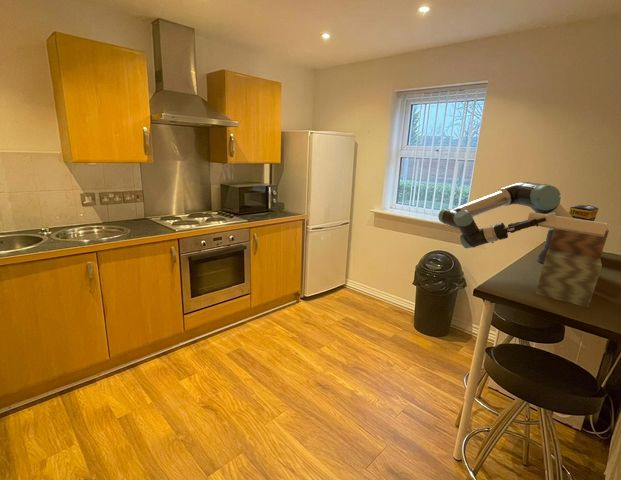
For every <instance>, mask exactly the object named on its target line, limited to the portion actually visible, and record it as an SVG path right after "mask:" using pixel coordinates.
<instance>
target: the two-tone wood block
mask: <svg viewBox="0 0 621 480" xmlns="http://www.w3.org/2000/svg"><path fill="white" fill-rule="evenodd" d="M609 232H610V230H609V228H608V227H607V228H606V231H605V235H604V237H601V236H595V235H589V234H583V233H577V232H571V231H565V230H559V229H554V230H553V233H552V237H551V241H550V244H549V248H548V251H547V254H546V257H545V261H544V264H543V266H542V269H541V271H540V272H541V273H540V277H539V280H538V284H537V288H536V291H535V295H537V296H543V297H546V298H550V299H554V300H558V301H560V302H561V301H562V302H566V303H569V304H573V305H577V306H580V307H584V308H589V307H590V304H591V302H592V299H593V298H592V297H593V294H594V291H595V290H596V286H597V283H598V279H599V277H600V273H601V270H602V267H603V264H602V261H601V257H602V253H603V252H604V251H603V250H604V248H605V244H606V241H607V239H608V235H609Z"/></svg>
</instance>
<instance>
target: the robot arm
mask: <svg viewBox="0 0 621 480" xmlns="http://www.w3.org/2000/svg"><path fill="white" fill-rule="evenodd" d="M511 205H519V206H520V205H521V206H523V207H524V206H525V207H529V208H530V209H531V210H532V211H533V212H534V213H541V214H548V215H546V216H543V217H539V218H536V219H534V220H530V221H528V219H526V220H523V221H516V222H514V223H513V222H511V223H509V224H507V226H506V225H505V224H504V223H503V222H499V223H495V224H494V225H489V226H484V227H482V228H479V227H478V225H477V223H476V221H475V219H474V217H477V216H479V215H482V214H484V213H486V212H489V211H492V210H495V209H498V208H500V207H502V206H504V207H508V206H511ZM555 216H561V217H568V218H573V217H572V216H571V215H570V214H569V211H567V210H566V208H564V207H563V205H562V204H561V192H560V190H559V188H557V187H556V186H554V185H551V184H547V183H535V182H529V181H521V182H516V183H513V184H510V185H507V186H504V187H502V188H499V189H498V190H497V191H496V192H494V193H490V194H489V195H485V196H483V197H481V198H478V199H475V200H472V201H470V202H467V203H464V204H462V205H459V206H457V207H455V208H454V207H453V208H451V209H450V208H443V209H441V210H440V211H439V213H438V220H439V222H440V223H442V224H443V225H447V226H449V227H452V228H454V229H457V230H459V231H460V232H461V235H460V237H459V239H460V243H461V246H462V247H463V248H464V249H471V248H476V247H479V246H482V245H483V246H484V245H485V244H490V243H491V244H494V242H498V240H499V241H502V240H505V239H508V238H509V233H510V234H513V233H515V232H519V231H521V230H523V229H524V230H525V229H528V228H531V227H539V226H538V224H542V223H546V222H549V221H553V220H556V217H555ZM535 225H536V226H535ZM553 230H554V229H553V228H548V230H547V234H546V239H545V242H544V243H545V244H544V246H543V249H542V250H541V252H540V253H539V255H538V256H537V258H536V259H537V261H536V262H538V263H540V264H543V265H544V261H545V257H546V254H547V251H548V248H549V244H550V241H551V237H552V233H553Z"/></svg>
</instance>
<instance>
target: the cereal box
mask: <svg viewBox="0 0 621 480" xmlns="http://www.w3.org/2000/svg"><path fill="white" fill-rule="evenodd" d="M598 212H599V207H596V206H594V205H590V204H587V205H582V204H580V205H573V206H571V207H569V210H568V213H569V214H570V215H571V216H572V217H573V218H575V219H582V220H588V221H595V219H596V217H597V215H598Z"/></svg>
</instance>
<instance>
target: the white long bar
mask: <svg viewBox="0 0 621 480" xmlns="http://www.w3.org/2000/svg"><path fill="white" fill-rule="evenodd" d="M546 215H548V214H541V213H536V212H535V211H530V212H529V214H528V217H527V220H528V221H530V220H534V219H536V218H539V217H543V216H546ZM555 217H556V220H553V221H549V222H546V223H542V224H538V226H537V227H542V228H548V229H549V228H553V229H559V230H565V231H571V232H577V233H583V234H589V235H595V236H601V237H604V235H605V231H606V228H608V223H607V222H601V221H595V220H594V221H588V220H582V219H575V218H568V217H561V216H555ZM534 227H536V225H535V226H534Z"/></svg>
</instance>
